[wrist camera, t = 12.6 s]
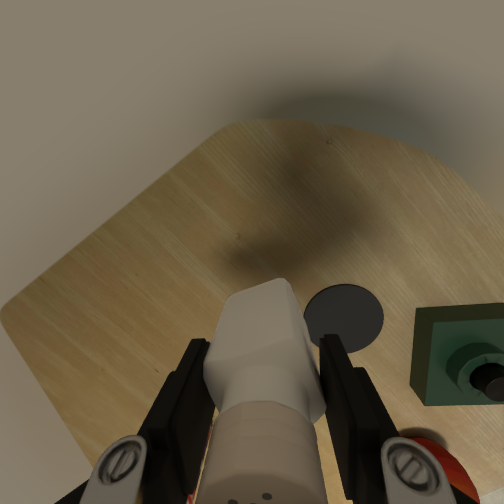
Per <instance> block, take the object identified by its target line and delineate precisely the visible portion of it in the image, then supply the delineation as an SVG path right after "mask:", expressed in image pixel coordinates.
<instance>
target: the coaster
mask: <svg viewBox="0 0 504 504" xmlns="http://www.w3.org/2000/svg"><path fill="white" fill-rule="evenodd" d="M304 320H305V322H306V325H307V329H308V332H309V336H310V340H311V341H312V342H313V343H314V344H315V345H316V346H317V347H319V338H324V334H338V335H339V337H340V339H341V342H342V344H343V346H344V348H345V350H346V353H352V352H356V351H359V350H361V349H363V348H365V347H366V346H368V345H369V344H371V343H372V342H373V341H374V340H375V339H376V337H377V336H378V335H379V333H380V331H381V329H382V326H383V320H384V314H383V309H382V307H381V304H380V303H379V301H378V300H377V298H376V297H375V296H374V295H373V294H372V293H371V292H369V291H368V290H366V289H364V288H362V287H359V286H356V285H350V284H340V285H335V286H331V287H328V288H326V289H324V290H322V291H320V292H319V293H317V294H316V295H315V296H314V297H313V298H312V299H311V300H310V302H309V303H308V305H307V307H306V309H305V312H304Z"/></svg>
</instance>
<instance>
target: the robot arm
mask: <svg viewBox="0 0 504 504" xmlns="http://www.w3.org/2000/svg"><path fill="white" fill-rule="evenodd" d="M209 346H210V342H206V340H205V338H200V339H192V340H191V341H190V343H189V345H188V347H187V349H186V351H185V353H184V355H183V357H182V359H181V361H180V363H179V365H178V367H177V369H176V371H172V372H171V373H170V374H169V375H168V377H167V379H166V381H165V383H164V385H163V386H162V388H161V390H160V392H159V394H158V396H157V398H156V400H155V401H154V403H153V405H152V407H151V409H150V411H149V413H148V415H147V416H146V418H145V420H144V422H143V424H142V426H141V428H140V430H139V431H138V433H137V435H129V436H126V437H123V438H121V439H119V440H118V441H116V442H114V443H113V444H112V445H111V446H110V447H108V448H107V449H106V450H105V451H104V453H103V454H102V455H101V456H100V458H99V459H98V461H97V463H96V465H95V467H94V469H93V472H92V474H91V476H90V479H88V480H87V481H86V482H84V483H83V484H81V485H80V486H79V487H77V488H76V489H74V490H73V491H72V492H70V493H69V494H67V495H66V496H65V497H63V498H62V499H60V500H59V501H57V502H56V503H55V504H186V503H187V499H188V495H192V494H193V493H194V490H195V487H196V483H197V479H198V475H199V471H200V467H201V463H202V459H203V454H204V450H205V446H206V442H207V438H208V434H209V430H210V426H211V422H212V418H213V414H214V410H215V406H216V405H215V404H214V402H213V400H212V398H211V396H210V393H209V391H208V388H207V386H206V383H205V381H204V378H203V362H204V359H205V356H206V354H207V351H208V348H209ZM319 355H320V379H321V383H322V387H323V391H324V395H325V398H326V403H327V408H326V411H325V415H326V419H327V423H328V427H329V431H330V435H331V439H332V444H333V448H334V452H335V456H336V460H337V464H338V469H339V473H340V477H341V481H342V485H343V489H344V493H345V497H346V499H347V500H352V501H353V504H479V503H478V502H476V501H475V500H473V499H472V498H471V497H469V496H468V495H466V494H465V493H463V492H462V491H460V490H459V489H458V488H456V487H455V486H453V485H452V484H450V483H449V481H448V479H447V476H446V474H445V472H444V470H443V468H442V466H441V464H440V463H439V462H438V460H437V459H436V458H435V457H434V455H433V454H432V453H430V452H429V451H428V450H427V449H426V448H425V447H423V446H422V445H420V444H418V443H417V442H415V441H413V440H410V439H407V438H404V437H400V435H399V433H398V431H397V429H396V427H395V425H394V423H393V422H392V420H391V418H390V416H389V414H388V412H387V410H386V408H385V406H384V404H383V402H382V400H381V398H380V396H379V394H378V392H377V391H376V389H375V387H374V385H373V383H372V381H371V379H370V377H369V375H368V373H367V371H366V370H365V368H363V367H353V366H352V364H351V361H350V359H349V357H348V355H347V353H346V350H345V348H344V346H343V344H342V342H341V339H340V337H339V335H338V334H324V338H319Z"/></svg>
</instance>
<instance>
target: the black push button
mask: <svg viewBox="0 0 504 504" xmlns="http://www.w3.org/2000/svg"><path fill="white" fill-rule="evenodd" d="M470 380H471V382H472V383H473V384H474V385H475V386H476V387H477V388H478V389H479V390H480V391H481V392H483V393H484V394H485V395H486V396H487V397H488V398H489V399H490V400H492V401H496V402H503V401H504V370H503V369H502V368H501V367H499V366H498V365H496V364H494V363H485V364H483V365H480V366H478V367H476V368H475V369H474V370H473V372H472V373H471V374H470Z"/></svg>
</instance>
